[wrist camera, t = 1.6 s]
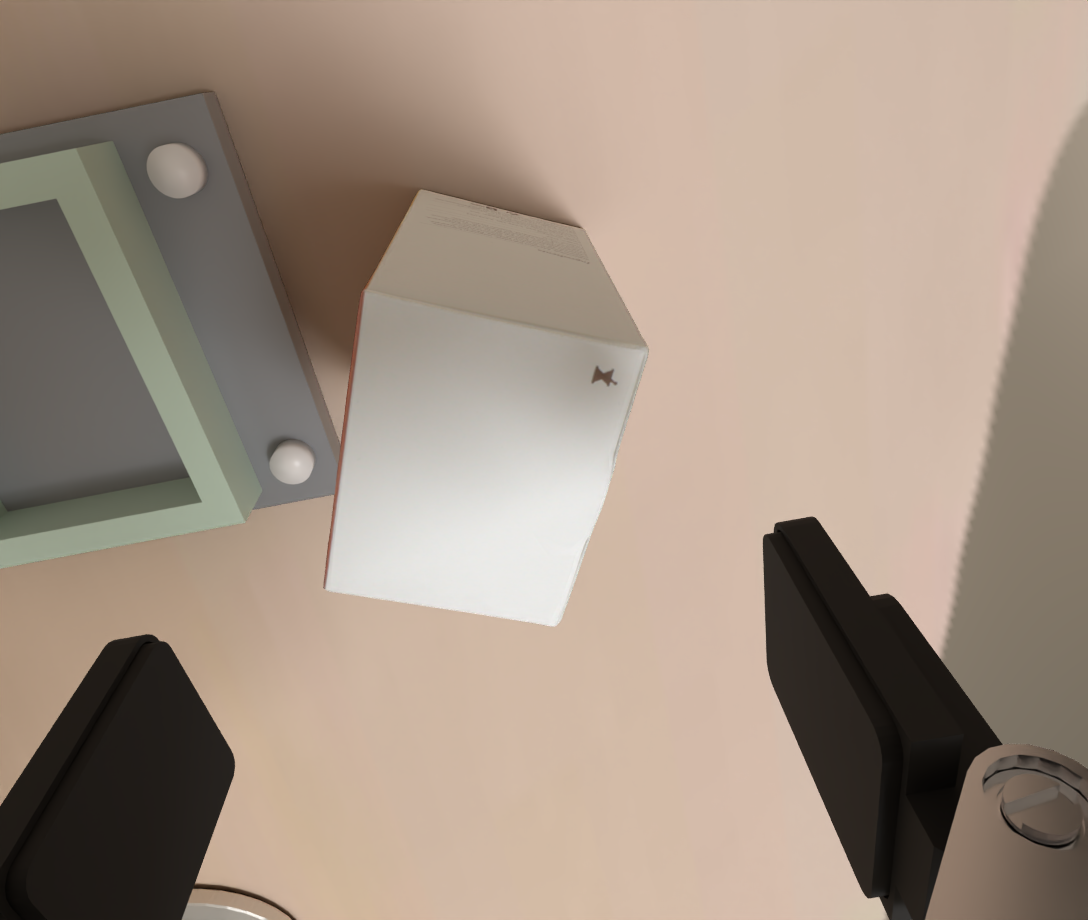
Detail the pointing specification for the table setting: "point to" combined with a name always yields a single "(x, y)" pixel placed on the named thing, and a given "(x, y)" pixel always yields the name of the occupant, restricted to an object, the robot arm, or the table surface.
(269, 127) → the table surface
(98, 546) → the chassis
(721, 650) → the table surface
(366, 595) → the small box
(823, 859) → the table surface
